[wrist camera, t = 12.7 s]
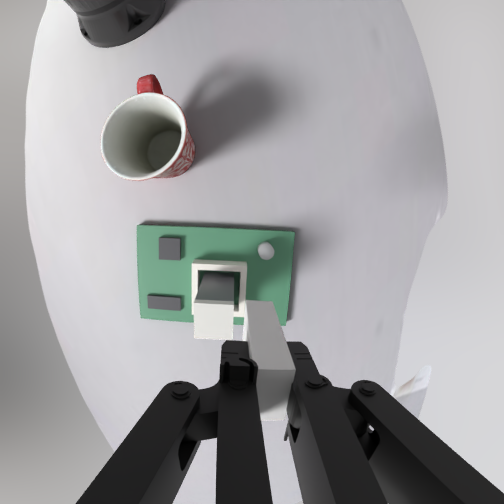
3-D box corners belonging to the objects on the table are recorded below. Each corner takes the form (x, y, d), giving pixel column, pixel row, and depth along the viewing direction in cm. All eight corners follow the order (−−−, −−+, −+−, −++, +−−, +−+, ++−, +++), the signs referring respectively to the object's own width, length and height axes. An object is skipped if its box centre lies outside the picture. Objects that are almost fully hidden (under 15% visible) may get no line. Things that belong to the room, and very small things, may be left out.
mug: (204, 181, 38) (188, 174, 25) (142, 188, 38) (100, 186, 25) (200, 96, 36) (185, 55, 22) (140, 105, 35) (103, 72, 22)
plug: (205, 271, 39) (193, 302, 28) (234, 272, 40) (233, 304, 28) (204, 298, 40) (194, 338, 28) (232, 299, 40) (232, 340, 29)
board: (139, 224, 39) (130, 227, 35) (293, 231, 40) (298, 234, 37) (142, 315, 41) (135, 325, 38) (284, 322, 43) (288, 333, 39)
